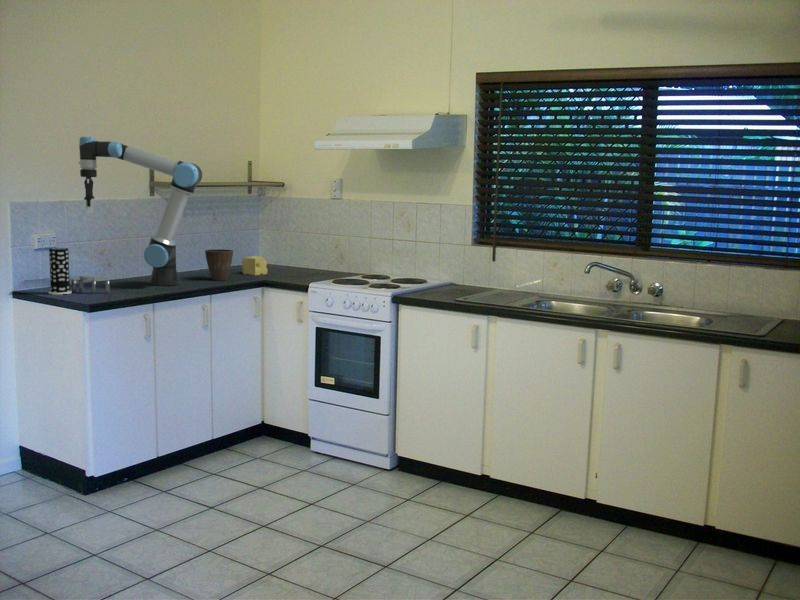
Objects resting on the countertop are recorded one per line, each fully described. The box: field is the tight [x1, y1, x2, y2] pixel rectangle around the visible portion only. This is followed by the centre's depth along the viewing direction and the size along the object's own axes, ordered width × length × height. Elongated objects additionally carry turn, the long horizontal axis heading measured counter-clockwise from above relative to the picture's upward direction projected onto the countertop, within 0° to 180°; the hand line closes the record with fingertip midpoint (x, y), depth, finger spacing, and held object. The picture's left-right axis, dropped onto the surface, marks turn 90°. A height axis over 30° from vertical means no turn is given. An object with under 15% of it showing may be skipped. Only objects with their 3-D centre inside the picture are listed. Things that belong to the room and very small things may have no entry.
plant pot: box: [204, 248, 234, 282], centre depth 450 cm, size 15×15×16 cm
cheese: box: [241, 255, 268, 276], centre depth 479 cm, size 10×11×10 cm
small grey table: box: [71, 275, 111, 294], centre depth 393 cm, size 17×6×8 cm, turn 107°
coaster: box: [48, 289, 72, 296], centre depth 390 cm, size 10×10×1 cm
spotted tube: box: [48, 247, 71, 293], centre depth 388 cm, size 8×8×20 cm
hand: (89, 212), depth 409 cm, fingers open, 13 cm apart
